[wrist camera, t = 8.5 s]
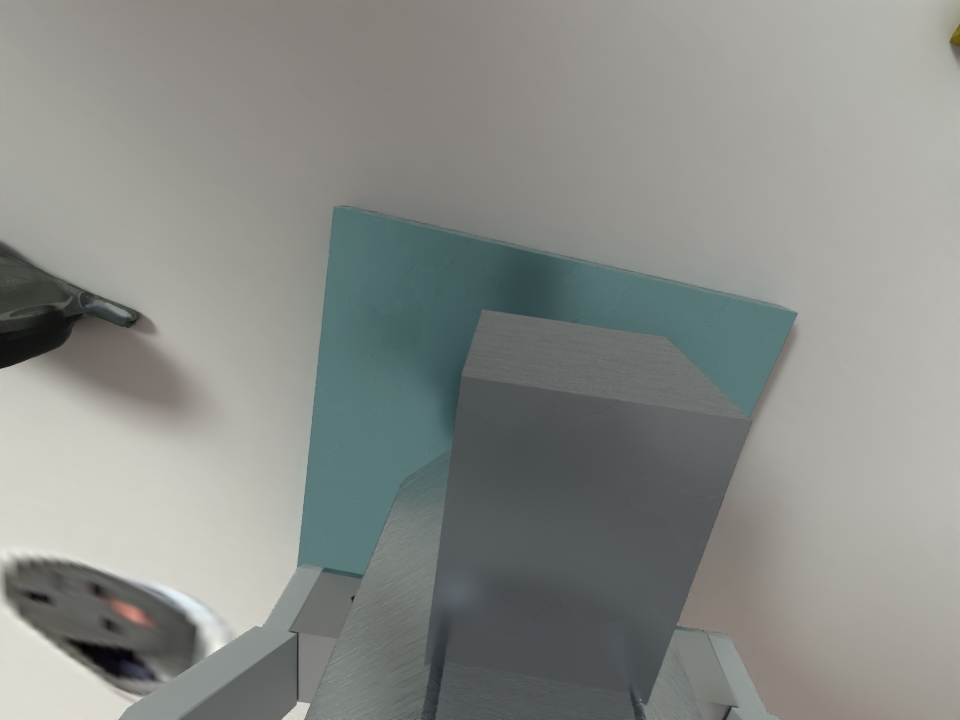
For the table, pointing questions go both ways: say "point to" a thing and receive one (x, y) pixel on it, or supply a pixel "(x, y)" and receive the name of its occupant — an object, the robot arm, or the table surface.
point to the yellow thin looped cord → (956, 36)
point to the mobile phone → (44, 311)
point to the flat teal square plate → (446, 343)
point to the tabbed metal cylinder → (544, 538)
